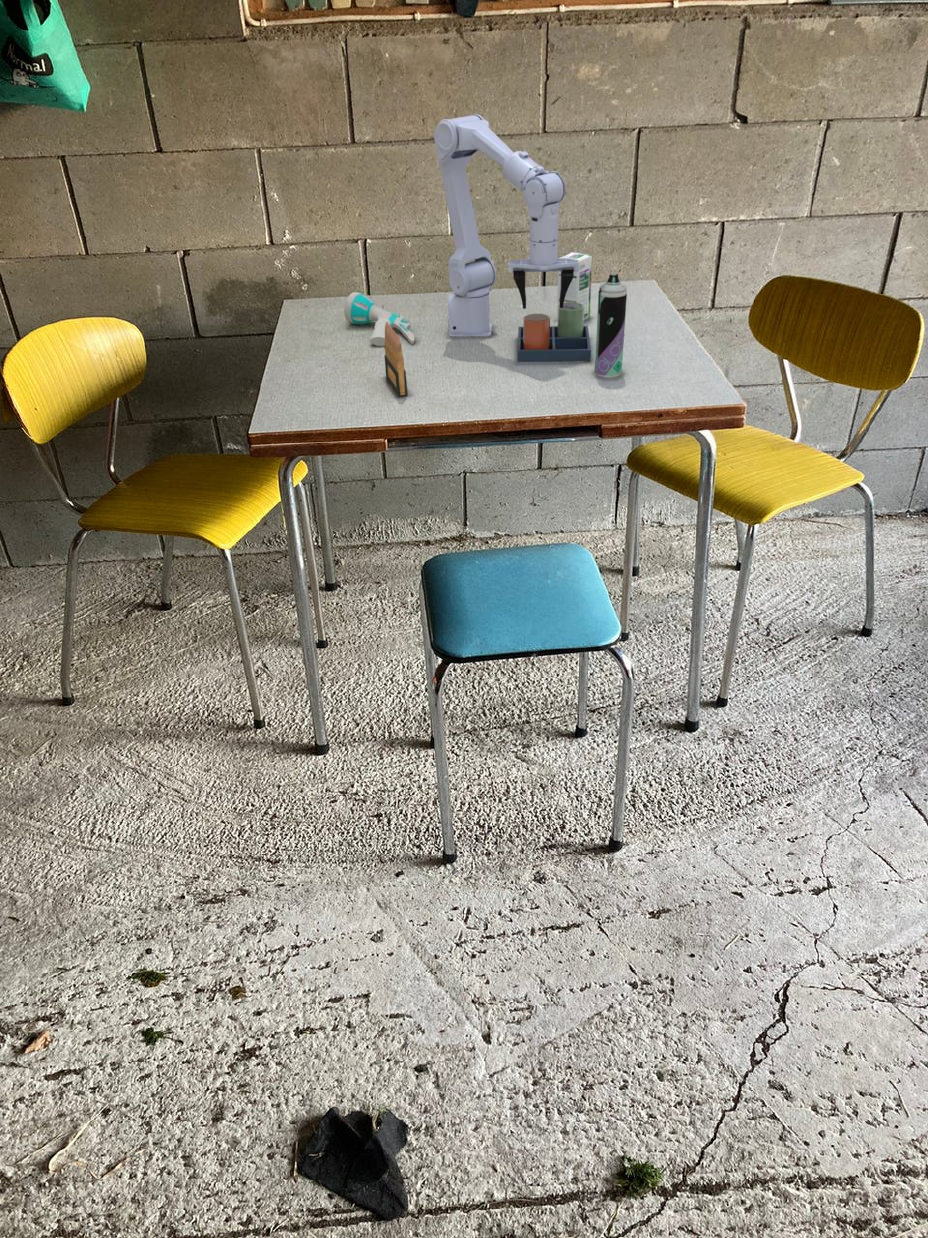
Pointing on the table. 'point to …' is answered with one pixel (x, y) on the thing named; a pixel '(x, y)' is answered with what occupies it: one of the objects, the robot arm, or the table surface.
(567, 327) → the sage cup
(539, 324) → the terracotta cup
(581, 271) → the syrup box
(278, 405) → the table surface
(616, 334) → the spray can
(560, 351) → the cup rack
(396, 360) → the ammunition clip
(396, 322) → the garden hose nozzle
